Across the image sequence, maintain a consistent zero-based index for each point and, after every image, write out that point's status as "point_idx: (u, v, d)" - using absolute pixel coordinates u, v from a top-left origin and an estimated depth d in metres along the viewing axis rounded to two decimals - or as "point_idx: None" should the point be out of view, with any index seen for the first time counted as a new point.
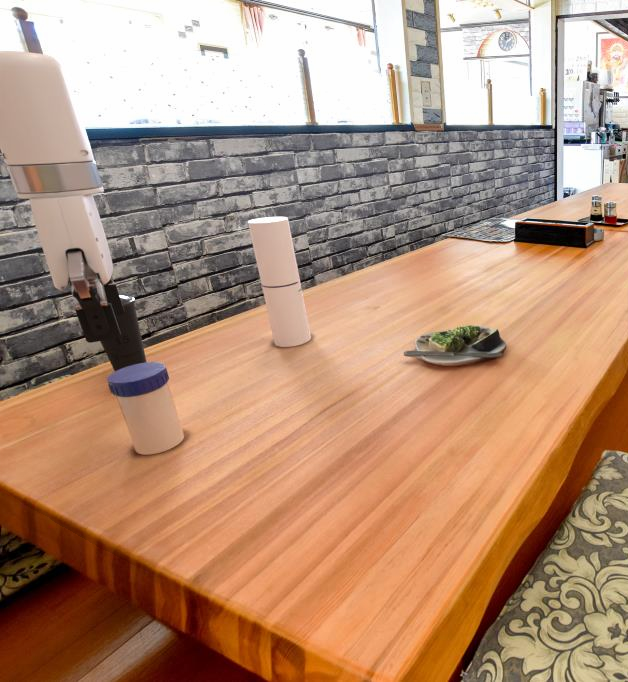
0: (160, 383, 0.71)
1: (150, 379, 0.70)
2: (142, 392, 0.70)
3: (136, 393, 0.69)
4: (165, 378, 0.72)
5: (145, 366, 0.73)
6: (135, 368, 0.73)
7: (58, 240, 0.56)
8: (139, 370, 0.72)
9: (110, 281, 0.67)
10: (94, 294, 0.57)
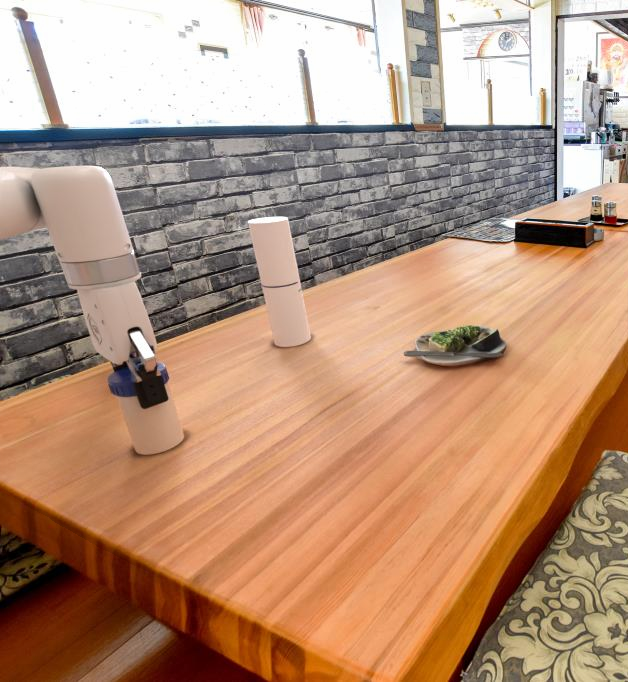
0: None
1: None
2: None
3: None
4: (165, 378, 0.72)
5: None
6: None
7: (121, 322, 0.65)
8: None
9: None
10: (156, 367, 0.67)
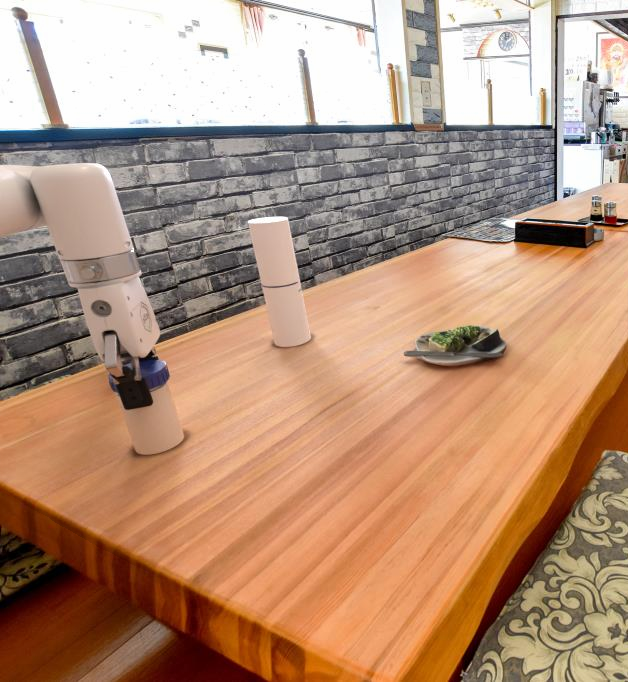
0: None
1: None
2: None
3: None
4: None
5: None
6: None
7: None
8: None
9: None
10: None
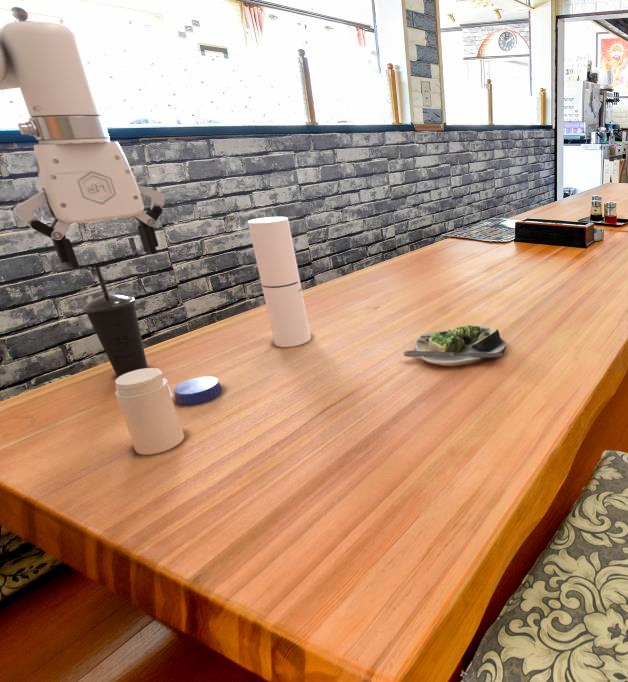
0: None
1: None
2: (220, 388, 0.91)
3: (220, 389, 0.90)
4: None
5: (186, 385, 0.88)
6: (184, 388, 0.87)
7: None
8: (193, 384, 0.88)
9: None
10: None
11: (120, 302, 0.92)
